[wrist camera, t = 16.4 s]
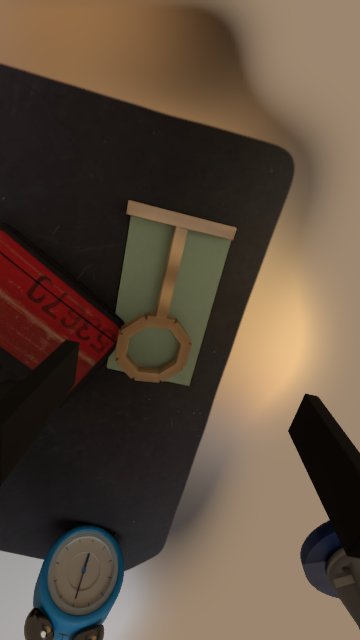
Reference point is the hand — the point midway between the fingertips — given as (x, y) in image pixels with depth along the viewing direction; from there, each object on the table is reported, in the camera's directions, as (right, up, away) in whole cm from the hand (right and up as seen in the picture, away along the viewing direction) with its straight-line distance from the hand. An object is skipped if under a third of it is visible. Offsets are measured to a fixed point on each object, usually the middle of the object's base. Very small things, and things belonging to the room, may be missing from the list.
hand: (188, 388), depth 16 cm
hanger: (-3, +6, +18) cm, 19 cm away
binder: (-20, +4, +21) cm, 29 cm away
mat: (-3, +6, +20) cm, 21 cm away
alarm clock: (-17, -36, +36) cm, 54 cm away
